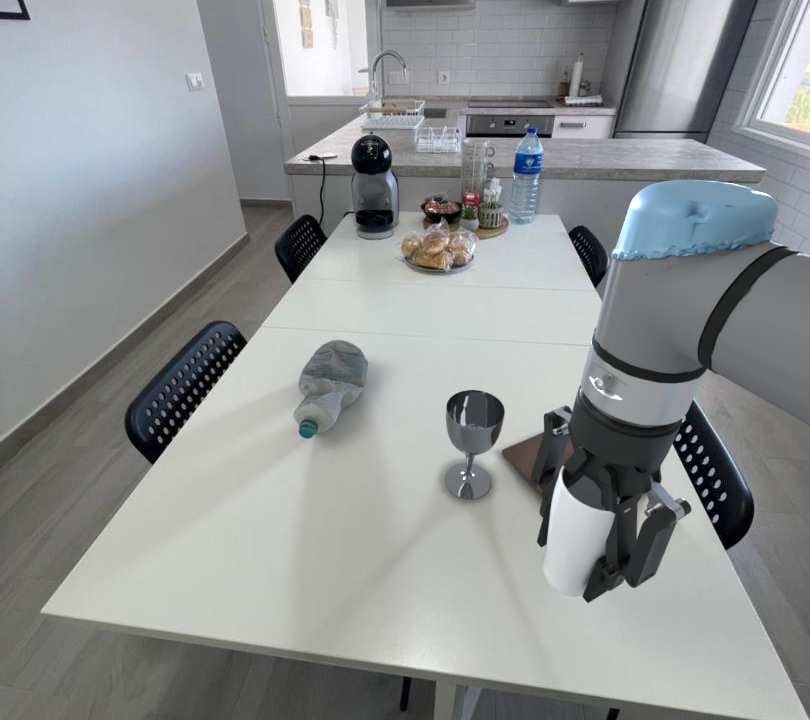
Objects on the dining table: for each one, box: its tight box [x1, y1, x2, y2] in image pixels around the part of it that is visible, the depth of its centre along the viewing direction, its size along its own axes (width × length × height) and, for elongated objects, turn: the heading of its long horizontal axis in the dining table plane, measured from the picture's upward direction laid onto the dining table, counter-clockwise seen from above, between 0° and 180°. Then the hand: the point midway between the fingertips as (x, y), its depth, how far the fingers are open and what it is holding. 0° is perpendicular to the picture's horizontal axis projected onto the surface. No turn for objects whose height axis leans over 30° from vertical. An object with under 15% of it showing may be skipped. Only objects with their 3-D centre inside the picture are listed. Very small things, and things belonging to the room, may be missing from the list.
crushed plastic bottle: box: [292, 339, 369, 439], centre depth 83 cm, size 13×7×25 cm
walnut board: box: [501, 431, 574, 500], centre depth 71 cm, size 16×16×1 cm
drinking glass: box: [542, 466, 631, 598], centre depth 44 cm, size 7×7×15 cm
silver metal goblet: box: [444, 389, 506, 500], centre depth 65 cm, size 8×8×15 cm
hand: (570, 565), depth 47 cm, fingers closed on drinking glass, 6 cm apart
